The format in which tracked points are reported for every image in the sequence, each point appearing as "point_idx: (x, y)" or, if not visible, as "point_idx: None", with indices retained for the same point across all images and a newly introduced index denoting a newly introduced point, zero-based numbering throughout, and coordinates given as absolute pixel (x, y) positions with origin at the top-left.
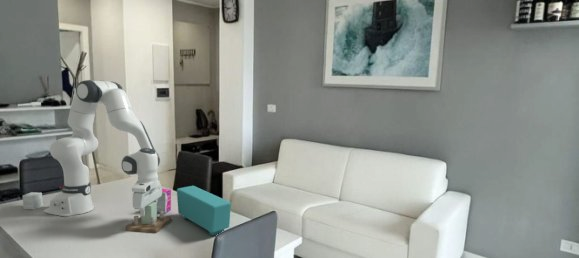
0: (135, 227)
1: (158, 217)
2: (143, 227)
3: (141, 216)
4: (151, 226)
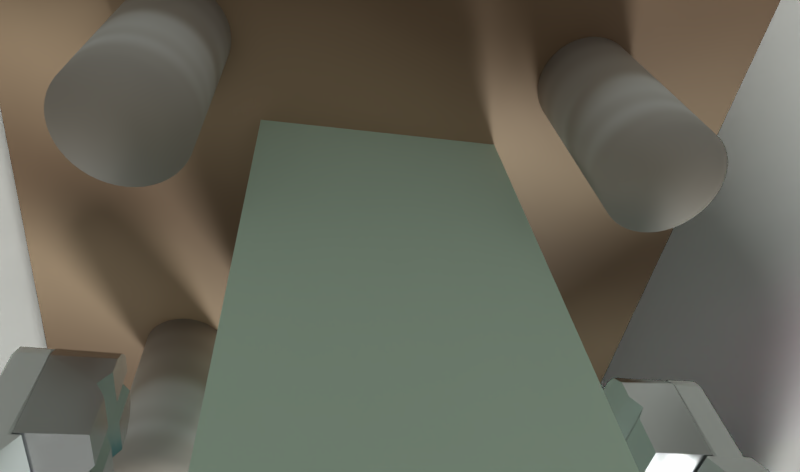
0: (27, 78)
1: (594, 293)
2: (86, 229)
3: (243, 217)
4: (144, 345)
